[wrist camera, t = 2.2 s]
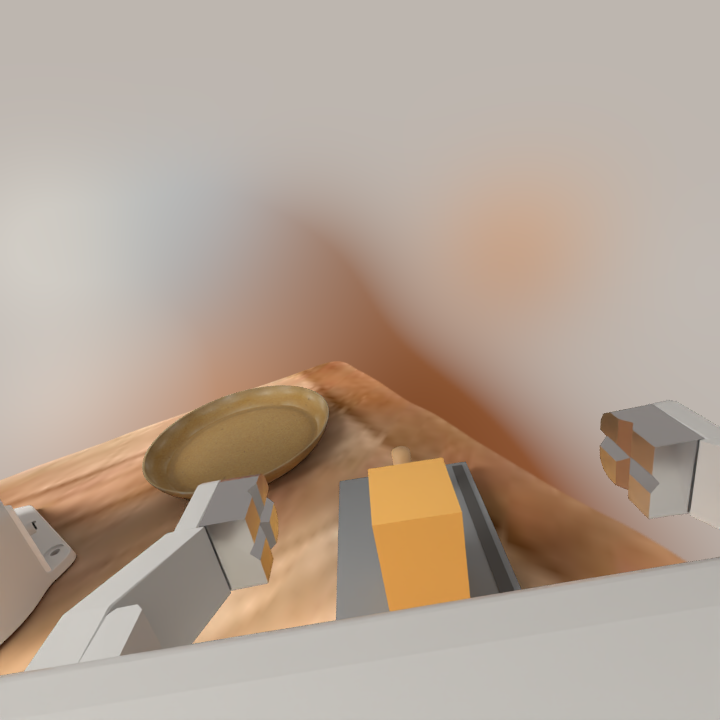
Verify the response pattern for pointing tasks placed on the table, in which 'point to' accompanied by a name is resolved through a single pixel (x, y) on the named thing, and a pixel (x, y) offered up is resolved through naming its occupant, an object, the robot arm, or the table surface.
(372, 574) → the plate
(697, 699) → the robot arm
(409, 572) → the tall orange brick
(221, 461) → the plant saucer
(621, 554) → the table surface
